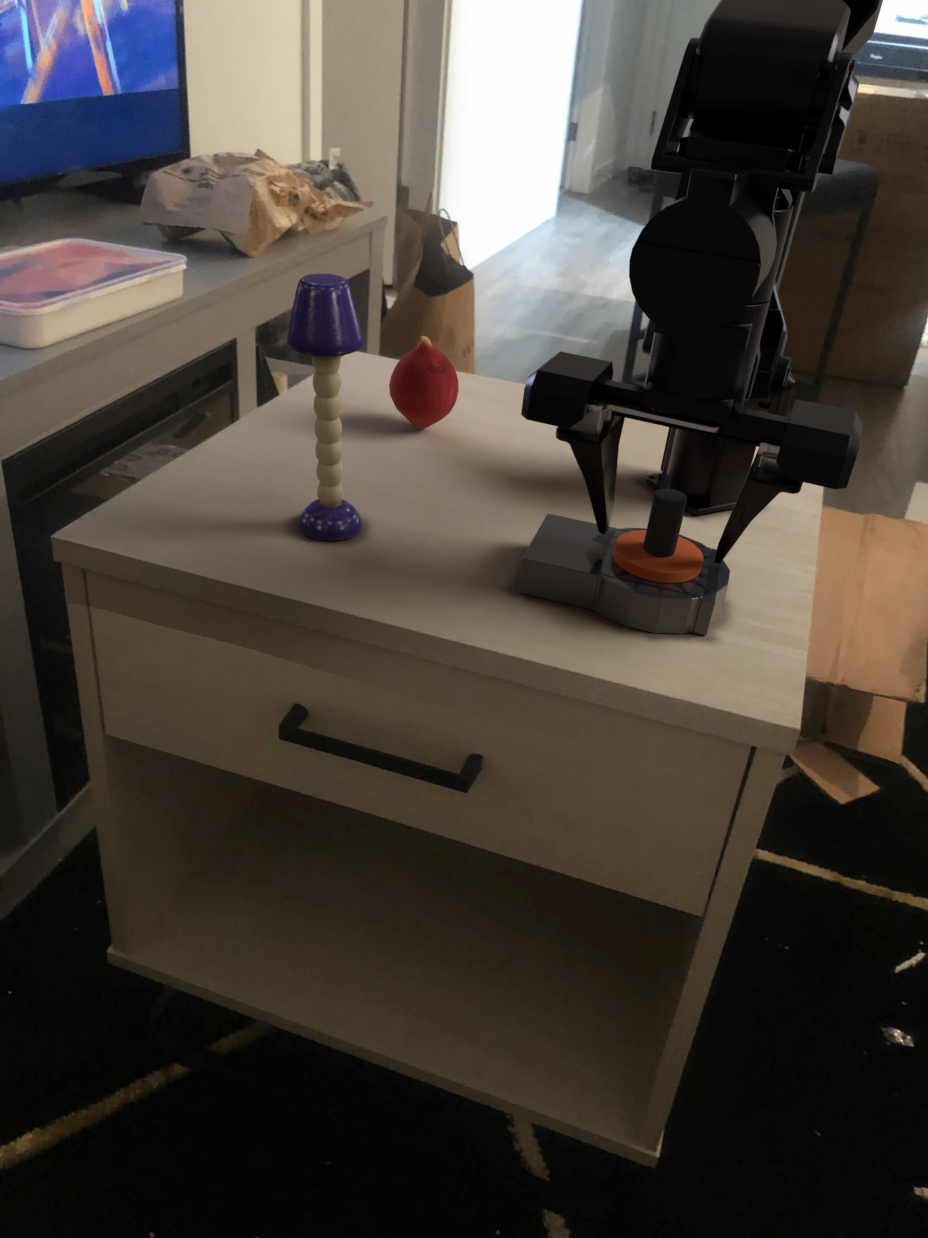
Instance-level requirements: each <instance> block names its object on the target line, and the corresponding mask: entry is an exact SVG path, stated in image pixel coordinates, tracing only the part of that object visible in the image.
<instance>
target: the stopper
mask: <svg viewBox="0 0 928 1238" xmlns="http://www.w3.org/2000/svg"><path fill="white" fill-rule="evenodd" d="M686 502H687V496H686V495H685V494H684V493H682V492H680V491H677V490H673V489H659V490H655V491H654V493H653V498H652V502H651V506H650V512H649V515H648V516H649V517H648V520H647V526H646V528H647V530H635V531H630V532H626V533H624V534H622V535H620V536H619V537H618V538H617V539H616V540H615V543H614V548H613V558H614V561H615V562H616V564H617V565H618V566H619V567H621V568H622V569H623V570H625V571H626V572H628V573H630V574H632V575H634V576H636V577H639V578H642V579H645V580H649V581H654V582H660V583H680V582H685V581H689V580H691V579H693V578H695V577H696V576H697V575H698V574H699V573H700V571H701V567H702V563H703V555H702V552H701V551H700V550H699V548H698V547H697V546H696V545H694V544H693V543H691V542H690V541H688V540H686V539H684V538H682V537H680V536H679V534H680V532H681V528H682V524H683V520H684V515H685V511H686V510H685V507H686Z"/></svg>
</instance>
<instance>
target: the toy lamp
mask: <svg viewBox="0 0 928 1238" xmlns="http://www.w3.org/2000/svg"><path fill="white" fill-rule="evenodd" d="M293 299H294V300H293V304H292V308H291V314H290V319H289V324H288V328H287V335H286V341H287V345H288V346H289V348H290V349H292V350H293V351H294V352H297V353H299V354H302V355H306V356H311V363H312V367H313V369H314V372H313V376H312V388H313V391H314V393H315V395H314V398H313V409H314V410H313V411H314V414H315V416H316V418H315V421H314V423H313V424H314V425H313V427H314V429H313V430H314V435H315V437H316V439H317V440H316V443H315V446H314V452H315V456H316V459H317V461H318V462H317V464H316V467H315V468H316V469H315V470H316V471H315V473H316V478H317V480H318V485H317V487H316V488H317V490H316V492H317V494H316V495H317V498H318V499H315V500H313V501H312V502H310V503H309V504H308V505H307V506H306V507H305V508H304V509H303V511H302V513H301V516H300V519H299V530H300V531H301V532H302V533H303V534H304V535H306V536H307V537H309V538H312V539H315V540H320V541H326V542H337V541H342V540H343V541H344V540H348V539H351V538H353V537H355V536H357V535H358V534H359V532H360V531H361V529H362V519H361V516H360V514H359V511H358V509H356V508H355V506H354V505H353V504H351V503H350V502H349V501H347V500H345V499H343V498H344V487H343V485H342V480H343V476H344V470H343V469H344V468H343V465H342V463H341V461H342V457H343V445H342V442H341V440H340V439H341V438H342V433H343V426H342V421H341V419H340V415H341V412H342V400H341V397H340V395H339V393H340V391H341V389H342V388H341V387H342V380H341V379H342V378H341V376H340V375H341V374H340V373H339V369H340V366H341V361H342V360H341V359H342V358H341V356H347V355H350V354H352V353H355V352H357V351H358V350H360V349H361V348H362V346H363V343H364V338H363V332H362V329H361V324H360V320H359V317H358V312H357V308H356V305H355V301H354V297H353V293H352V290H351V287H350V284H349V282H348V280H347V279H346V278H345V277H343V276H342V275H338V274H334V273H310V274H306V275H304V276H302V277H301V278H300V279H299V280H298V283H297V286H296V289H295V295H294V298H293Z"/></svg>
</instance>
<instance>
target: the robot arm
mask: <svg viewBox="0 0 928 1238" xmlns="http://www.w3.org/2000/svg"><path fill="white" fill-rule="evenodd" d="M883 2H884V0H719V2H718V3H717V5H716V6H715V8H714V9H713V11H712V13H710V15H709V17H707V20H706V21H705V23H704V26H703V28H702V31H701V33H700V36H699V37H695V36H692V37H691V38H690V39H689V41H688V43H687V45H686V48H685V51H684V53H683V56H682V60H681V63H680V66H679V69H678V73H677V76H676V79H675V82H674V85H673V90H672V92H671V96H670V99H669V102H668V105H667V109H666V112H665V116H664V118H663V121H662V125H661V128H660V131H659V135H658V138H657V141H656V145H655V147H654V151H653V154H652V158H651V161H650V162H651V164H650V170H651V171H652V172H653V171H654V172H661V173H667V174H675V175H680V179H679V183H678V184H679V185H678V190H677V193H676V196H675V199H674V202H672V203H670V204H669V205H667V206H665V207H664V208H663V209H661V210H660V211H658V212H657V213H656V214H654V215H653V216H652V217H651V218H650V219H649V220H648V222H647V223H646V224H645V226H643V228H642V229H641V231H640V233H639V235H638V237H637V239H636V240H635V242H634V245H633V246H632V248H631V252H630V257H629V264H628V265H629V267H628V279H629V283H630V289H631V293H632V295H633V297H634V299H635V301H636V303H637V306H638V307H639V309H641V310H642V313H643V314H644V315H645V316H646V317H647V318H648V321H647V324H646V327H645V332H644V336H643V340H642V345H641V351H642V353H643V354H644V355H646V356H648V357H649V359H648V363H647V364H648V365H647V367H646V375H645V378H644V379H645V380H644V384H643V386H640V385H635V384H630V383H625V382H622V381H618V380H617V381H615V380H613V377H614V365H613V361H611V360H604V359H599V358H596V357H590V356H585V355H582V354H581V355H580V354H577V353H576V354H575V353H570V352H566V351H562V350H561V351H560V350H559V351H558V352H557V353H555V355H553V356H551V357H550V358H549V359H548V360H547V361H545V362H544V363H542V364H541V366H539V367H538V368H537V369H536V370H534V371H533V372H532V373H530V375H529V376H528V377H527V380H526V383H525V386H524V388H523V396H522V403H521V412H520V415H521V416H522V417H523V418H524V419H525V420H528V421H532V422H536V423H540V424H545V425H549V426H555V427H556V429H555V438H556V439H557V441H561V442H565V443H568V445H569V446H570V449H571V451H572V454H573V456H574V459H575V461H576V464H577V465H578V468H579V470H580V473H581V475H582V478H583V480H584V483H585V486H586V487H585V488H586V490H587V493H588V498H589V501H590V504H591V509H592V512H593V516H594V519H595V524H597V527H598V531H599V533H601V534H606V532H607V531H608V529H609V527H611V526H610V525H611V520H612V516H613V512H614V507H615V506H614V505H615V495H616V483H617V471H618V460H619V448H620V442H621V437H622V434H623V433H622V432H623V428H624V424H625V419H630V420H634V421H639V422H644V423H649V424H653V425H658V426H662V427H666V428H668V431H667V434H666V435H667V436H666V440H665V445H664V450H663V455H662V458H661V464H660V473H655V474H648V475H646V476H645V480H644V482H645V483H646V484H647V485H648V486H649V487H651V488H653V489H654V490H655V491H657V490H659V489H673V490H677V491H680V492H682V493H684V494H685V495H686V496H687V502H686V507H685V511H687V512H688V513H690V514H692V515H704V514H710V513H714V512H715V513H716V512H720V511H725V510H731V509H732V510H731V512H730V515H729V517H728V519H727V522H726V524H725V525H724V526H725V527H724V529H723V530H722V534H721V536H720V539H719V541H718V543H717V547H716V549H717V551H716V555H715V559H714V562H715V563H718V564H720V563H721V562H722V561H723V560H724V559H725V558H726V557H727V555H728V554H729V553H730V551H731V550H732V548H733V547H734V546H735V544H736V543H737V541H738V540H739V539H740V538H741V536H742V535H743V533H744V532H745V531H746V529H747V528H748V527H749V525H750V524H751V523H752V522H753V520H754V519H755V518H756V517H757V516H758V515H759V514H760V513H761V512H762V511H763V510H764V509H766V507H767V506H768V505H769V504H770V503H771V502H772V501H773V500H774V499H775V498H777V496H778V495H779V494H781V493H785V494H794V495H797V494H799V493H801V490H802V487H803V484H810V485H814V486H819V487H823V488H827V489H833V490H843V489H847V487H848V485H849V481H850V478H851V476H852V472H853V470H854V466H855V463H856V461H857V457H858V453H859V450H860V445H861V439H862V431H863V425H864V424H863V422H862V420H861V419H860V417H859V415H858V413H857V411H855V410H851V409H846V408H842V407H841V408H840V407H836V406H832V405H827V404H821V403H816V402H811V401H806V400H801V399H794V402H793V405H792V408H791V411H790V414H789V416H788V413H789V407H790V404H791V399H792V396H793V392H794V387H795V384H796V379H795V377H794V376H793V374H792V373H791V372H792V367H791V362H792V357H789V356H784V352H785V348H786V345H787V341H788V336H789V335H788V330H787V329H788V328H787V324H786V320H785V317H784V312H783V309H782V305H781V302H780V298H779V294H778V293H779V289H780V285H781V282H782V278H783V274H784V271H785V267H786V264H787V261H788V257H789V252H790V250H791V245H792V242H793V238H794V234H795V231H796V227H797V223H798V220H799V217H800V213H801V210H802V206H803V202H804V199H805V195H806V193H808V194H813V193H814V191H815V189H816V187H817V185H818V181H819V178H820V176H821V175H822V174H823V175H829V176H833V173H834V171H835V167H836V165H837V164H836V163H837V161H838V157H839V154H840V151H841V148H842V145H843V142H844V138H845V136H846V132H847V128H848V126H849V122H850V119H851V115H852V112H853V110H854V109H853V108H854V106H855V102H856V98H857V95H858V91H859V86H860V82H859V80H858V78H857V76H856V75H855V73H854V71H855V68H856V64H857V60H856V59H854V57H855V56H856V54H857V53H858V52H859V51H860V50H861V49H862V48H863V47H864V46H865V45H866V44H867V43H868V41H869V40H870V39H871V38H872V37H873V36H874V33H875V29H876V26H877V23H878V19H879V16H880V13H881V8H882V6H883ZM690 120H692V122H691V124H690V126H689V129H688V135H687V136H684V134H685V131H686V130H687V127H688V124H689V122H690ZM761 409H765V410H768V411H763V410H761ZM757 447H758V449H757ZM756 450H757V452H756Z"/></svg>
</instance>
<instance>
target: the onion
mask: <svg viewBox="0 0 928 1238" xmlns="http://www.w3.org/2000/svg"><path fill="white" fill-rule="evenodd" d="M388 388H389V396H390V398H391V401H392V403H393V405H394V406H395V408H396V410H397V411H398V412H399V413H400V414H401V415H402V416H403V417H404V418H405V419H406V420H407V421H408V422H409V423H410V424H411V425H412V426H413V427H414V428H415V429H417V430H420V431H422V430H425V429H427V428H429V427H431V426H433V425H434V424H436V423H438V422H440V421H442V420H443V419H445V417H447V416H448V415H449V414H451V412H452V411H453V408H454V407H455V405H456V402H457V399H458V395H459V390H460V387H459V379H458V374H457V371H456V370H455V366H454V365H453V364H452V363H451V361H450V360H449V359H448V357H447V356H445V354H443V353H442V351H440V350H439V349H438V348H437V347H436V346H435V345H434V344H433V343H432V342H431V340H430V338H429V337H427V336H426V335H420V336H419V337H418V344H417V346H416V347H414V348H413V349H412V350H410V351H409V352H407V353H405V354H404V355H403V356H402V357H401V358H400V359H399V360H398V362H397V363H396V365H395V366H394V369H393V371H392V373H391V376H390V380H389V384H388Z"/></svg>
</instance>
